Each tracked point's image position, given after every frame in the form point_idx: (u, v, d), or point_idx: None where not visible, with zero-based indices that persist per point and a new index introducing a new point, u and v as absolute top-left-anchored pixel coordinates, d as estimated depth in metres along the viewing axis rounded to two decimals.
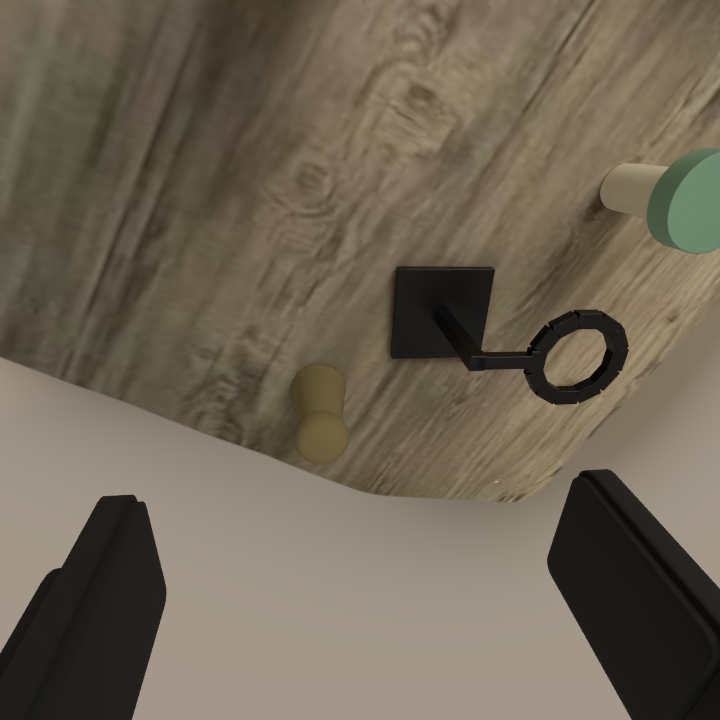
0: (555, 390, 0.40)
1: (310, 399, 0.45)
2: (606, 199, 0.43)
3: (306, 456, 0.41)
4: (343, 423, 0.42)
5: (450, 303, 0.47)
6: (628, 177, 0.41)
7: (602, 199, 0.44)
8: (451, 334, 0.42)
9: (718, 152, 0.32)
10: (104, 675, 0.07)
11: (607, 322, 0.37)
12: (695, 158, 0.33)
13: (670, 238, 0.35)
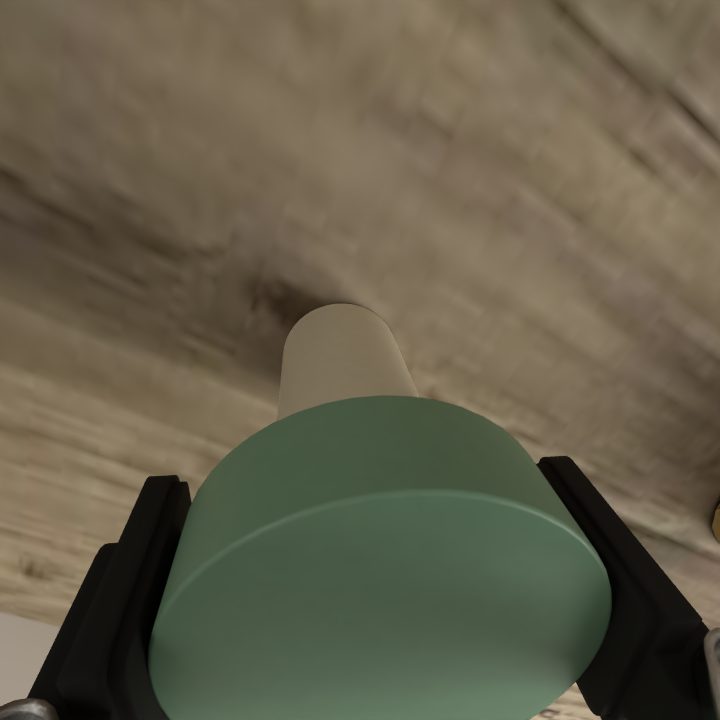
0: None
1: None
2: (313, 320, 0.15)
3: None
4: None
5: None
6: (385, 347, 0.14)
7: (310, 314, 0.16)
8: None
9: None
10: None
11: None
12: (569, 514, 0.08)
13: (205, 558, 0.06)
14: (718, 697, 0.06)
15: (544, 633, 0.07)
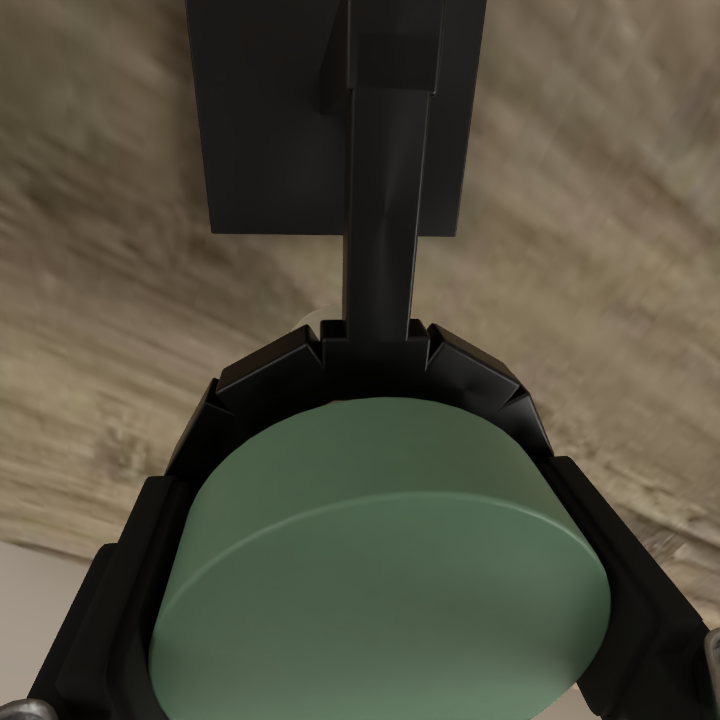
0: None
1: None
2: (313, 321, 0.16)
3: None
4: None
5: None
6: None
7: (310, 315, 0.16)
8: None
9: None
10: None
11: None
12: (569, 515, 0.08)
13: (206, 559, 0.06)
14: (718, 697, 0.06)
15: (544, 634, 0.07)
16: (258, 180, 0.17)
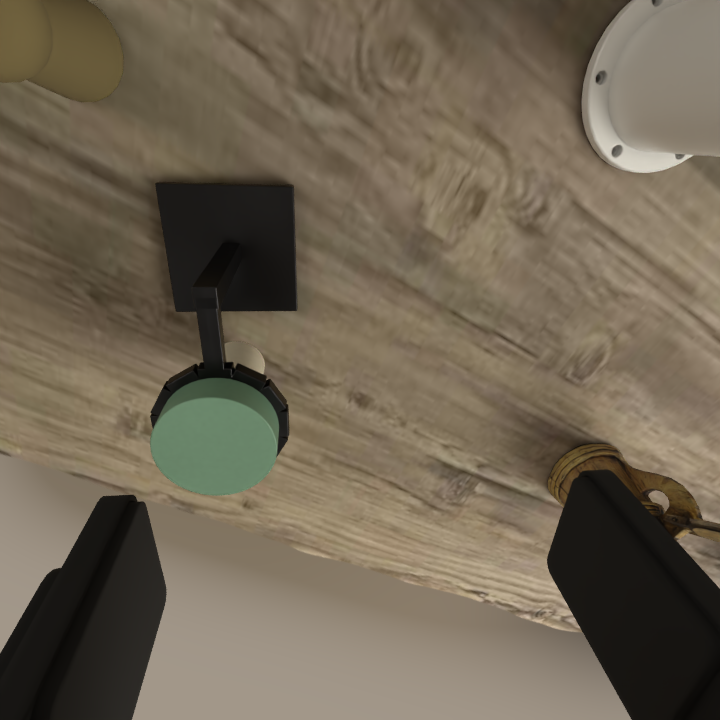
0: None
1: (62, 12, 0.24)
2: None
3: None
4: (34, 70, 0.22)
5: (250, 261, 0.36)
6: (245, 361, 0.34)
7: None
8: (223, 262, 0.30)
9: (272, 429, 0.28)
10: (104, 675, 0.07)
11: (278, 443, 0.31)
12: (264, 409, 0.28)
13: (163, 413, 0.26)
14: None
15: (256, 441, 0.28)
16: None
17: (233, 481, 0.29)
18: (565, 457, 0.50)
